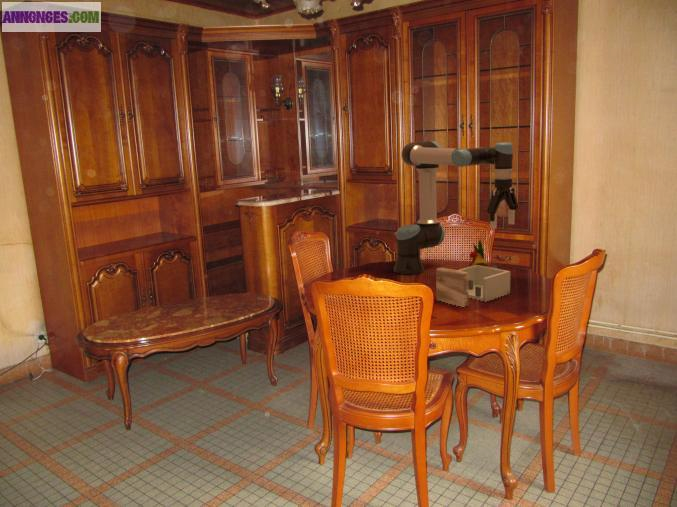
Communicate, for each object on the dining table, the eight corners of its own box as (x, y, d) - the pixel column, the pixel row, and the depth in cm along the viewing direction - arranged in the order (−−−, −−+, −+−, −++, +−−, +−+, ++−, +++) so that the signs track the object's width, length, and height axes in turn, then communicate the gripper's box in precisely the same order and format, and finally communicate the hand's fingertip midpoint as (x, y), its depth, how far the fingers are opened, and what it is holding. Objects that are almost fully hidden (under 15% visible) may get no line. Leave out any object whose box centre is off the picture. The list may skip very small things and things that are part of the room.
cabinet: (476, 286, 264) (476, 264, 261) (509, 293, 250) (510, 271, 248) (451, 293, 253) (451, 271, 251) (485, 302, 239) (485, 278, 237)
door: (441, 299, 246) (441, 267, 243) (468, 306, 236) (468, 272, 233) (433, 301, 243) (433, 269, 240) (460, 308, 232) (460, 275, 229)
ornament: (468, 275, 301) (458, 248, 303) (483, 270, 301) (473, 243, 303) (476, 272, 281) (465, 243, 282) (492, 267, 281) (482, 238, 282)
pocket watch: (508, 284, 264) (508, 263, 262) (489, 284, 266) (489, 263, 264) (506, 279, 272) (507, 259, 270) (488, 279, 274) (488, 259, 271)
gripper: (493, 181, 242) (493, 231, 247) (526, 176, 258) (525, 223, 262) (478, 180, 248) (478, 229, 252) (512, 175, 264) (511, 221, 268)
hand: (502, 226), depth 257 cm, fingers open, 13 cm apart
